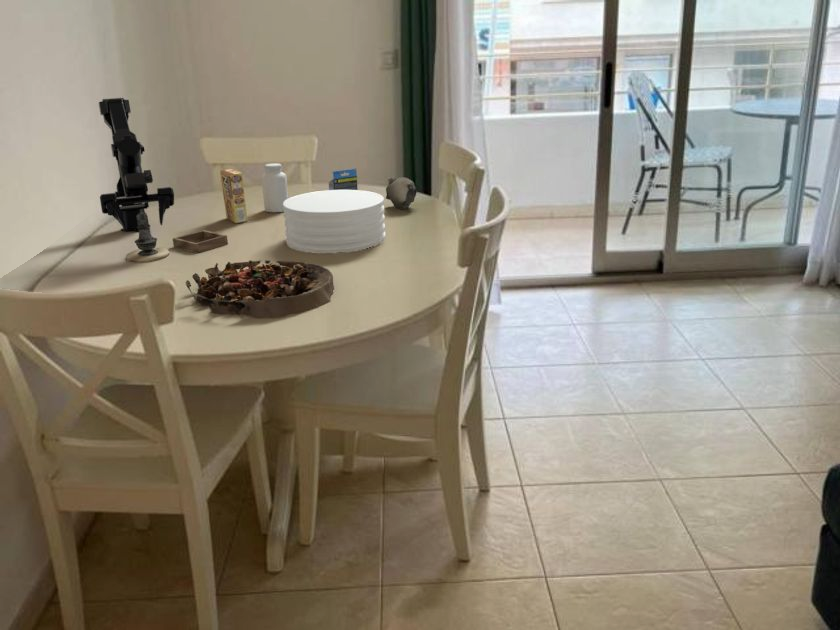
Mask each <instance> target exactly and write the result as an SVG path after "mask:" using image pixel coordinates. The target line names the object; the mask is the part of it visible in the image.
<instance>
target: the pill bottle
mask: <svg viewBox="0 0 840 630" xmlns="http://www.w3.org/2000/svg"><path fill="white" fill-rule="evenodd" d="M264 169H265V172H264V173H263V174H262V175H261V186H262V195H263V207H264V212H267V213H277V214H278V213H284V211H285V210H284V208H283V202H284V201H285V200H286V199H288V198H289V193H288V192H289V190H288V181H287V174H286V173H285V172H282V170H283V167H282V164H281V163H276V162H275V163H267V164H265V165H264Z"/></svg>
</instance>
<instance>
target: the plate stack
mask: <svg viewBox="0 0 840 630" xmlns="http://www.w3.org/2000/svg"><path fill="white" fill-rule="evenodd" d="M384 204H385V197H384V196H383V195H382V194H380V193H378V192H374V191H373V192H372V191H369V190H360V189H358V190H329V189H328V190H327V189H325V190H318V191H311V192H305V193H301V194H297V195H294V196H291V197H288V199H286V200H285V201H284V202H283V208H284V210H285V211H284V212H283V217H284V226H285V237H286V238H285V239H286V245H287V246H288V248H291V249H292V250H294V249H295V250H294V251H298V250H299V252H302V251H305V252H304V253H308V252H314V253H313V254H320V253H332V254H336V253H335V252H346V253H351V252H350V251H354V252H357V251H356V250H360V251H362V250H361V249H364V250H367V249H366V248H368V249H370V248H369V247H371V248H373V247H372V246H374V247H376V246H375V245H377V244H379V243H381V242H382V243H384V242H385V240H386V224H385V221H386V217H385V205H384ZM382 243H381V244H382ZM379 245H380V244H379ZM377 246H378V245H377Z"/></svg>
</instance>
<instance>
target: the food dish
mask: <svg viewBox="0 0 840 630" xmlns="http://www.w3.org/2000/svg"><path fill="white" fill-rule="evenodd" d="M261 262H262V260H256V261H252V260H248V261H244V262H243V261H241V262H233V263H231V262H230V261H228V262H227V263H226V264H225V268H224V269H223V270H220V269H219V267H218V265H219V263H218V262H216V264H215V265H214V267H209V268H205V269H204V272H205V273H206V274H207V277H206V276H205V277H204V276H201V277H200V275H199V274H198V273H196V272H195V273H194V274H192V276H191V277H192V279H193V280H194V281H195V283H196V284H197V287H198V289H197V293H195V292H192V290H191V288H190V287H191V286H192V284H191V282H190V280H188V279H187V280H186V281H185V286H186V287H187V289H188V290H189V292H190V294H191V295H192V297H193V299H194V301H195V304H197V305H198V306H200V307H202V308H204V307H207V308H210V310H211V313H213V314H215V315H221V316H224V315H225V316H226V315H228V316H229V315H230V316H250V317H251V318H254V319H258V320H259V319H260V320H261V319H280V318H284V317H288V316H290V315H298V314H302V313H306V312H309V311H311V310H314V309H315V310H316V309H319V308H320V307H323V306H325V305H327V304H329V303H330V302H332V299H331V298H332V296H333V295H334V291H335V285H334V275H333V273H332V272H331V271H330V270H329V269H328V268H327V267H324V266H322V265H319V264H316V263H312V262H307V261H299V260H298V261H295V260H288V261H287V260H284V261H283V260H277V261H276V263H278V265H277V264H275V263H271V260H268V259H266V260H265V261H264V263H265V264H264V263H262V265H260V264H261ZM247 268H248V269H247ZM238 270H239V271H238ZM333 290H334V291H333Z"/></svg>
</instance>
